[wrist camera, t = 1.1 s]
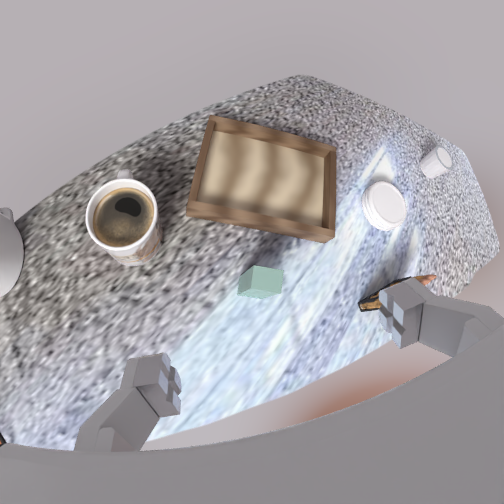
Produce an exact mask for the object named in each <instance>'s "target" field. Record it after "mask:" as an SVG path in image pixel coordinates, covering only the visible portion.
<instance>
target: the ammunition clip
mask: <svg viewBox="0 0 504 504" xmlns="http://www.w3.org/2000/svg"><path fill="white" fill-rule="evenodd" d="M436 277H437V276H436V275H424V276H416V277H407V278H402V279H398V280H395V281H393V282H392V283H390V284H388V285H387V286H385V287H383V288H382V289H380V290H383V289H386V288H388V287H391V286H393V285H396V284H398V283H401V282H403V281H405V280H407V279H410V278H415V279H417V280H418V281H419V282H420V283H422V284H423V285H424V286H425V285H426V284H428V283H429V282H431V280H433V279H435V278H436ZM380 290H379V291H377V292H375V293H374V294H372V295H370V296H369V297H367V298H365V299H364V300H362V301H360V302H358V306H359V308H360V311H361V312H364V311H372V310H378V309H379V308H380V306H381V305H382V303H381V302H380V301H379V292H380Z"/></svg>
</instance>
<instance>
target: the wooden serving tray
mask: <svg viewBox="0 0 504 504" xmlns="http://www.w3.org/2000/svg"><path fill="white" fill-rule="evenodd" d="M186 216H189V217H195V218H200V219H205V220H211V221H216V222H221V223H226V224H232V225H237V226H242V227H247V228H252V229H257V230H262V231H267V232H272V233H277V234H282V235H287V236H292V237H297V238H301V239H306V240H311V241H316V242H320V243H326V242H328V241H329V240H331V239H333V238H334V237H335V217H336V147H334V146H330V145H327V144H324V143H321V142H318V141H315V140H311V139H308V138H304V137H301V136H298V135H294V134H290V133H287V132H283V131H279V130H275V129H272V128H268V127H264V126H260V125H255V124H251V123H247V122H242V121H238V120H233V119H228V118H224V117H218V116H213V115H210V117H209V120H208V124H207V127H206V131H205V134H204V138H203V142H202V146H201V149H200V153H199V157H198V161H197V165H196V169H195V173H194V177H193V181H192V186H191V190H190V194H189V199H188V203H187V209H186Z"/></svg>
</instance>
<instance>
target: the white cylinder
mask: <svg viewBox="0 0 504 504" xmlns="http://www.w3.org/2000/svg"><path fill="white" fill-rule="evenodd" d="M453 166H454V165H453V160H452V158H451V156H450V154H449V152H448V151H447V150H446V149H445V148H444V147H442V146H440V145H438V146H436V147H435V148H434V149H433V150H432V151H431V152H429V153H428V154H427V155H426V156H425V157H424V158H423V159H422V160H421V162H420V167H421V170H422V171H423V173H424V174H425V175H426V176H427V177H428V178H430V179H433V178H435V177H437V176H439V175H441V174H443V173H446V172H448V171H450V170H452V169H453Z"/></svg>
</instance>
